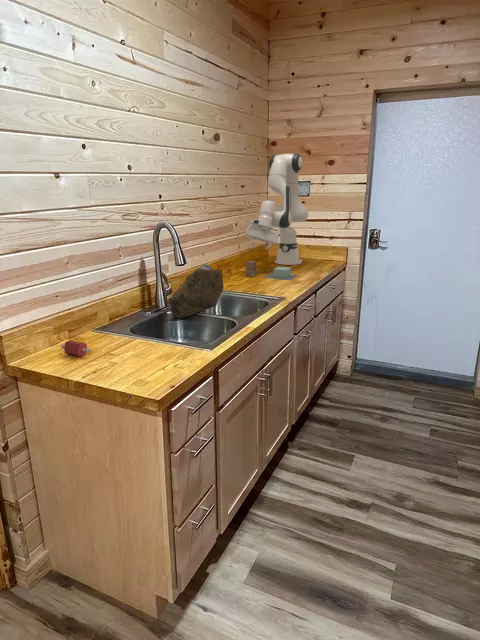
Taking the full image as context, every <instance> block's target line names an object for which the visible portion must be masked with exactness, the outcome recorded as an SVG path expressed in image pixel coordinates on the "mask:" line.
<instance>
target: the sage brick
mask: <svg viewBox="0 0 480 640" xmlns="http://www.w3.org/2000/svg"><path fill="white" fill-rule="evenodd" d="M273 273H274V278H286V279H287V278H288V277H290V276H291V275H292V267H289V266H288V267H286V266H285V267H284V266H276V267H275V268H273Z"/></svg>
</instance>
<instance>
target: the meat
mask: <svg viewBox="0 0 480 640" xmlns="http://www.w3.org/2000/svg"><path fill="white" fill-rule="evenodd" d="M60 349H63V351H64V354H66V355H71V356H72V355H73V356H74V355H75V356H78V357H80V358H83V357H85V356H86V355H87V354H90V353H91V352H92V349H91V348H90V347H88V343H86V342H84V341H74V340H71V339H69V340H67V341H65V343H61V344H60Z"/></svg>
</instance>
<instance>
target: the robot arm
mask: <svg viewBox="0 0 480 640" xmlns="http://www.w3.org/2000/svg"><path fill="white" fill-rule="evenodd" d="M303 163H304V161H303V156H302V155H301V154H299V153H282V154H274V155H271V157H270V158H269V159H268V167H269V173H268V180H267V181H268V182H267V184H268V185H267V186H268V187H269V189H270V190H271V191H272V192H274V193H275V194H278V195H280V196H282V200H283V202H282V203H283V204H282V205H281V204H279V205H276V201H274V200H271V199H264V200H263V201H262V203H261V205H260V208H259V212H258V215H259V216H258V218H257V219H252V220H251V221H250V222H249V223H248V226H247V227H246V229H245V233H244V235H245V237H248V238H249V241H250V246H252V247H253V246H254V244H255V242H254V241H253V240H257V241H259V242H264V243H267V245H266V246H265V250H269V249H270V248H269V247H271V245H274V246H275V245H277V244H279V245H278V247H279V249H278V250H277V251H276V259H275V260H274V263H275V264H278V265H284V266H285V265H287V266H292V265H301V264H302V263H303V259H301V258H300V252H299V250H298V242H297V230H295V228H293V227H291V225H292V223H303V222H306V221H307V219H308V217H309V211H308V209H307V206H305V205H304V204H303V203H302V202H301V200H300V197H299V171H300V170H301V169H302V167H303ZM277 228H278V229H277Z"/></svg>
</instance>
